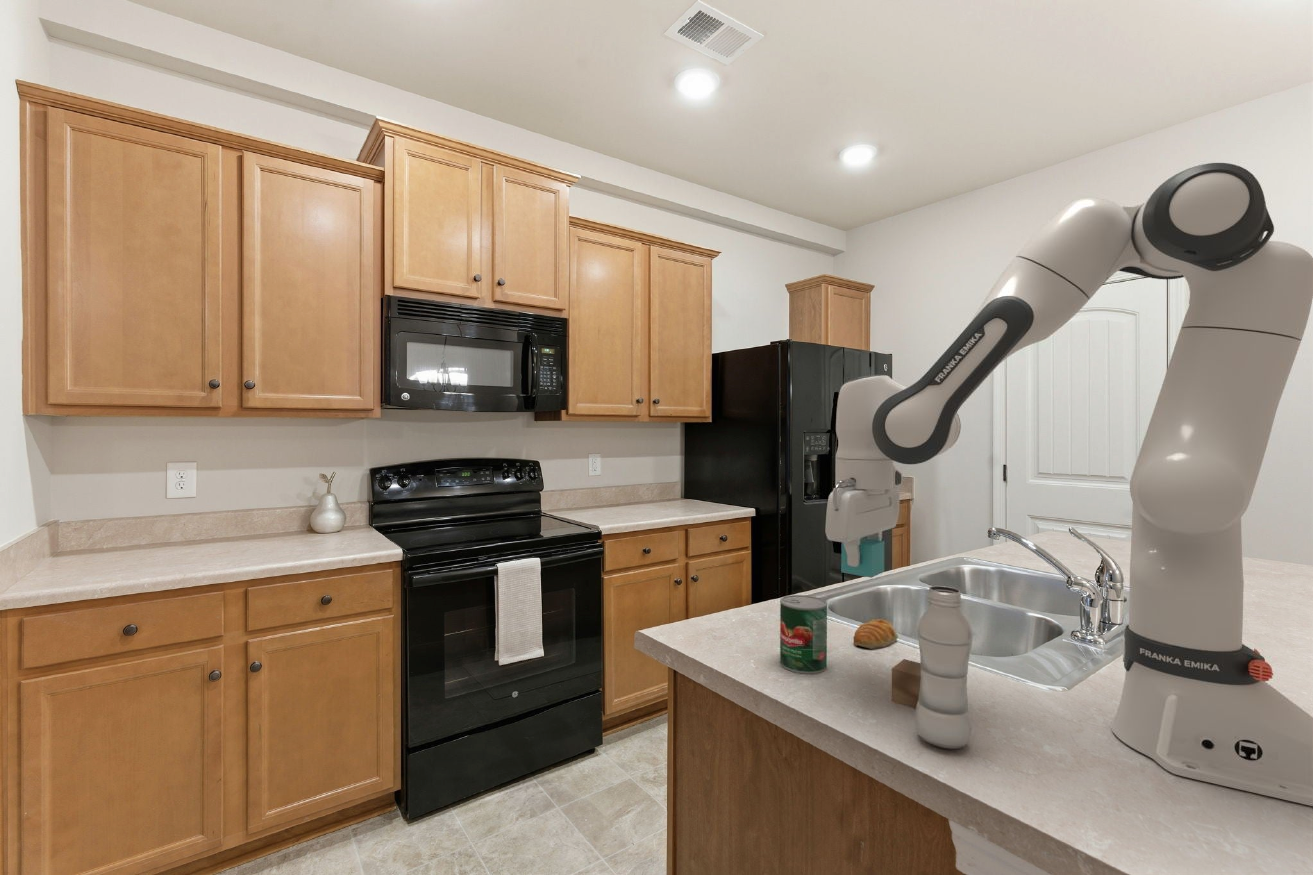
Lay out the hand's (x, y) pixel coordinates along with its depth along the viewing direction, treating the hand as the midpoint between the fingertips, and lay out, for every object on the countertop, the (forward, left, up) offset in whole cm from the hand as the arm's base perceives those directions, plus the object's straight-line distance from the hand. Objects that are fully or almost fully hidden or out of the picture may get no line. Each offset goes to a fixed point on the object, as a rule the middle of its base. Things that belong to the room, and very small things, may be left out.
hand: (863, 562), depth 98 cm
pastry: (+5, -18, -20) cm, 27 cm away
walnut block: (-9, +2, -19) cm, 21 cm away
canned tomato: (+10, +1, -19) cm, 22 cm away
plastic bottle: (-16, +12, -19) cm, 28 cm away
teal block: (0, 0, -2) cm, 2 cm away
